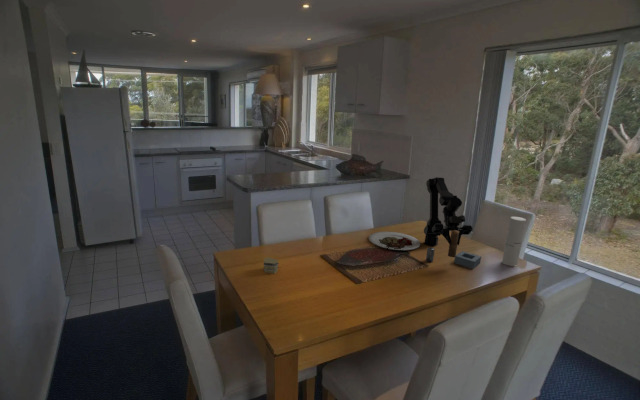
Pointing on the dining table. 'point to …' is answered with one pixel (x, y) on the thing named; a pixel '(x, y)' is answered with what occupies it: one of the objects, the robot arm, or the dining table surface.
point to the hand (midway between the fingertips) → (454, 244)
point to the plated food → (394, 240)
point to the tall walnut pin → (453, 243)
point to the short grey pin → (430, 254)
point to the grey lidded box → (270, 265)
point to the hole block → (467, 259)
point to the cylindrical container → (513, 241)
